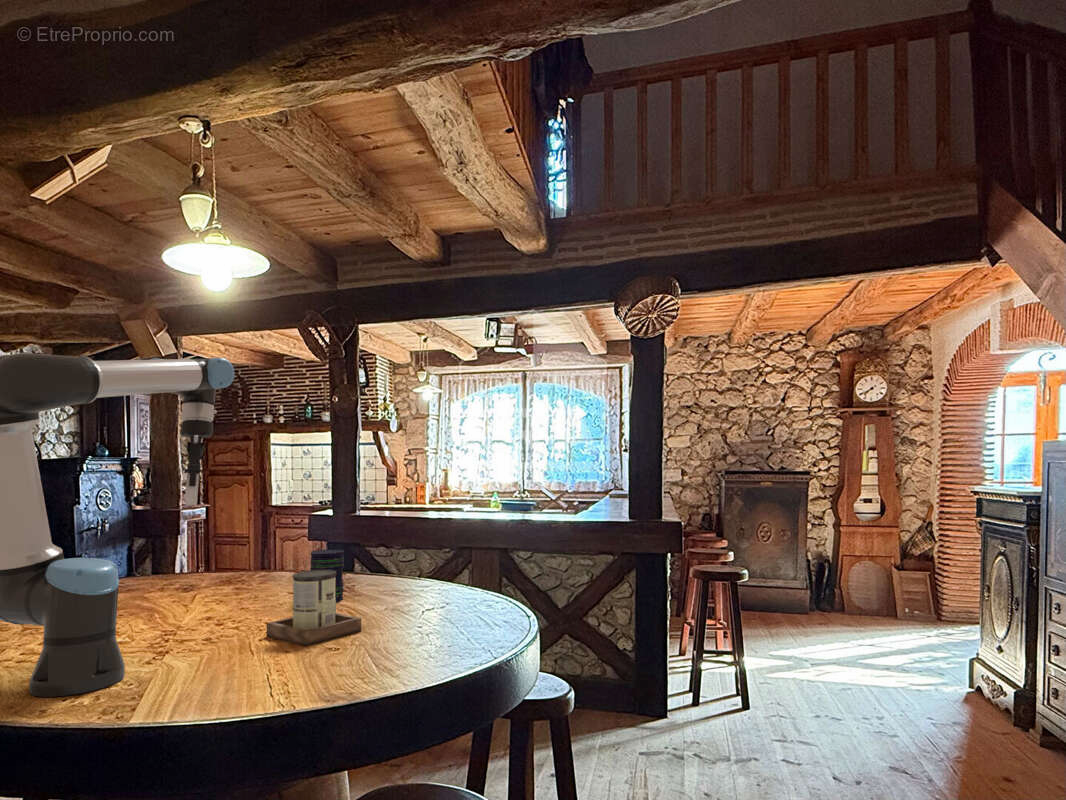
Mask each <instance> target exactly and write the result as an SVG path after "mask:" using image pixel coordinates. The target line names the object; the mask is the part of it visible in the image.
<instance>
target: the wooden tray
mask: <svg viewBox="0 0 1066 800" xmlns="http://www.w3.org/2000/svg"><path fill="white" fill-rule="evenodd" d="M359 632H362V617H357V616H353V615H348V614H343V613H337V612H336V623H334V624H330V625H326V626H322V627H318V628H314V629H310V630H304V629H300V628H295V627H293V616H291V617H288V618H283V619H280V620H275V621H271V622H267V623H266V637H268V638H271V639H275V640H278V641H283V642H286V643H290V644H295V645H298V646H303V647H308V646H312V645H315V644H319V643H324V642H327V641H330V640H333V639H339V638H341V637H344V636H349V635H353V634H356V633H359Z"/></svg>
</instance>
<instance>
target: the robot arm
mask: <svg viewBox="0 0 1066 800" xmlns="http://www.w3.org/2000/svg"><path fill="white" fill-rule="evenodd" d="M234 379H235V369H234V367H233V364H232V363H231V362H230V361H229V360H228V359H227V358H224V357H210V358H191V359H190V358H180V359H179V358H176V359H175V358H174V359H170V358H169V359H164V358H157V357H153V358H150V359H130V360H129V359H124V360H121V359H120V360H115V359H114V360H93V359H92V358H90V357H88V356H85V355H78V356H77V355H57V354H47V353H46V354H45V353H44V354H43V353H33V352H32V353H31V352H20V353H12V354H11V353H10V354H2V355H0V621H3V622H6V623H9V624H10V623H11V624H12V625H20V626H21V625H29V626H30V625H31V626H43V642H42V648H41V652H40V655H39V657H38V660H37V662H36V664H35V667H34V669H33V671H32V674H31V676H30V678H29V679H30V680H29V684H28V685H29V686H28V689H29V690H28V693H29V695H32V696H35V697H41V698H53V697H54V698H55V697H64V696H72V695H79V694H84V693H88V692H93V691H97V690H100V689H104V688H106V687H110V686H113V685H114V684H117V683H118V682H120V681H122V680H123V679H124V678H125V670H126V669H125V667H126V665H125V662H124V659H123V658H124V657H123V655H122V653H121V649H120V646H119V643H118V640H117V636H116V635H117V634H116V633H117V617H118V614H117V613H118V599H119V585H120V579H119V569H118V566H117V564H116V563H115V562H113V561H112V560H109V559H105V558H104V559H103V558H99V557H97V558H96V557H91V558H90V557H89V558H88V557H71V558H65V557H64V552H63V551H64V550H63V549H62V548H61V547H59V546H57V545H55V544H54V543H53V542H52V536H51V530H50V525H49V519H48V514H47V513H48V512H47V509H46V508H47V507H46V503H45V495H44V491H43V485H42V480H41V473H40V469H39V462H38V458H37V452H36V445H35V440H34V436H33V428H34V427H35V426H36V425H37V423H39V422H40V420H41V419H40V414H39V413H40V412H45V411H49V410H54V409H58V408H65V407H70V406H76V405H86V404H91V403H93V401H95V400H96V399H98V398H110V397H122V396H125V397H126V396H136V395H149V394H150V395H151V394H161V393H169V394H174V395H178V396H182V397H183V399H182V406H181V407H182V408H181V419H182V422H181V423H180V424H181V425H180V433H179V434H180V435H181V437H184V438H189V439H190V441H189V442H188V441H187V444H186V451H187V454H186V455H187V460H188V462H187V463H188V464H187V468H184V470H183V471H184V474H186V483H185V484H186V485H185V494H184V495H185V496H184V501H185V502H184V503H185V504H184V505H185V506H197V505H198V494H199V481H200V482H201V481H202V477H201V476H200V469H201V468H200V463H201V462H200V461H202V460H203V453H204V450H205V442H202V440H203V439H207V438H212V437H213V435H214V423H213V421H214V418H215V417H214V416H215V414H217V413H218V412H217V410H216V409H215V407H216V406H215V405H216V394H217V393H216V392H217V390H219V389H223V388H227V387H229V386H231V384H232V383H233V381H234Z"/></svg>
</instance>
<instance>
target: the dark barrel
mask: <svg viewBox="0 0 1066 800" xmlns="http://www.w3.org/2000/svg"><path fill="white" fill-rule="evenodd" d="M344 562H345V559H344V549H341V548H340V549H339V548H338V549H337V548H334V549H331V548H329V549H319V550H311V551H310V563H309V564H310V568H309V570H310V571H311V570H333V571H336V602H337V603H339V602H338V601H340V602H342V601H343V600H344V597H343V596H344V589H345V587H344V584H345V583H344V580H343V569H344ZM341 600H342V601H341Z"/></svg>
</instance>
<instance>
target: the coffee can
mask: <svg viewBox="0 0 1066 800" xmlns="http://www.w3.org/2000/svg"><path fill="white" fill-rule="evenodd" d="M292 590H293V591H292V617H293V627H295V628H300V629H304V630H310V629H314V628H318V627H322V626H326V625H330V624H334V623H336V613H337V611H336V605H337V603H336V571H333V570H311V569H310V570H305V571H299V572H295V573H293V574H292Z"/></svg>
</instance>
